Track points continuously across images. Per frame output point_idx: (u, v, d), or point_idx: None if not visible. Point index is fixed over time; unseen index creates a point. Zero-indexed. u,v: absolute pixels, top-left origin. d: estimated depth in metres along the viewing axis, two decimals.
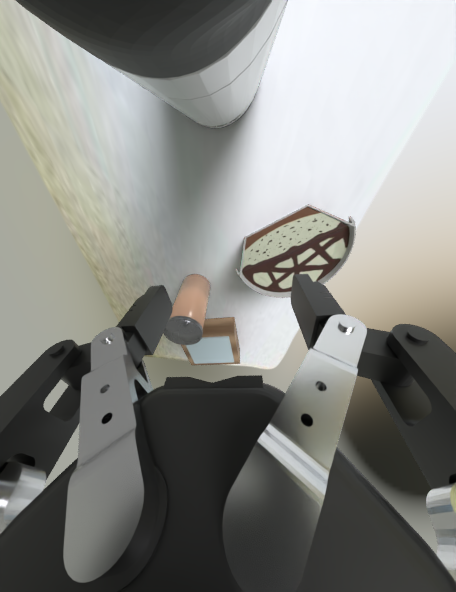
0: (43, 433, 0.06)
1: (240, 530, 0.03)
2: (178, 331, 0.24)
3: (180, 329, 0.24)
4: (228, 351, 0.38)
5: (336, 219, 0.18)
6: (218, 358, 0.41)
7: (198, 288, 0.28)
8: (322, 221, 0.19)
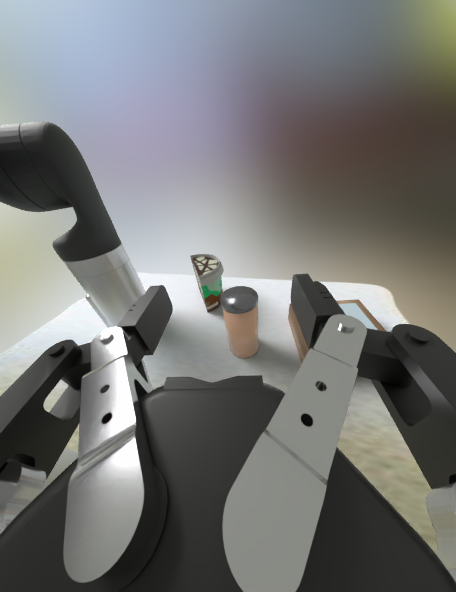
0: (43, 433, 0.06)
1: (240, 530, 0.03)
2: (235, 298, 0.25)
3: (232, 297, 0.25)
4: None
5: (193, 266, 0.44)
6: (355, 317, 0.28)
7: None
8: (195, 271, 0.43)
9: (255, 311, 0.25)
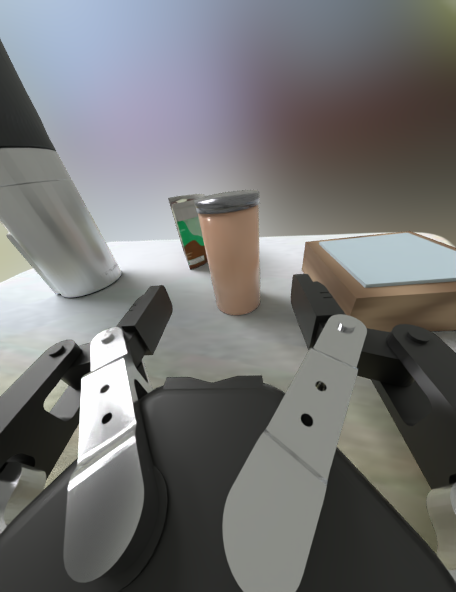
0: (43, 433, 0.06)
1: (240, 530, 0.03)
2: (219, 197, 0.14)
3: (215, 197, 0.15)
4: (367, 239, 0.20)
5: (173, 215, 0.33)
6: (416, 245, 0.17)
7: None
8: (175, 220, 0.33)
9: (255, 219, 0.14)
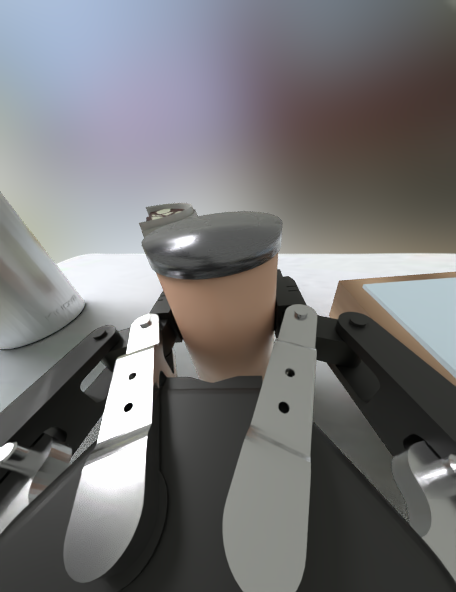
0: (77, 411, 0.06)
1: (242, 540, 0.03)
2: (197, 231, 0.07)
3: (188, 230, 0.07)
4: (444, 284, 0.12)
5: None
6: None
7: None
8: None
9: (272, 278, 0.07)
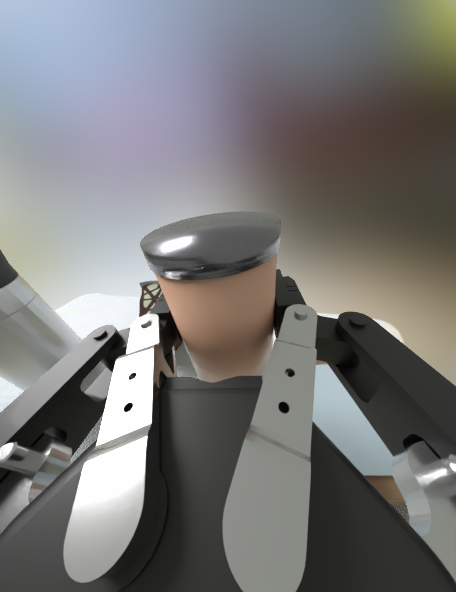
0: (77, 411, 0.06)
1: (242, 540, 0.03)
2: (196, 232, 0.07)
3: (187, 230, 0.07)
4: (316, 370, 0.21)
5: None
6: None
7: None
8: None
9: (271, 279, 0.07)
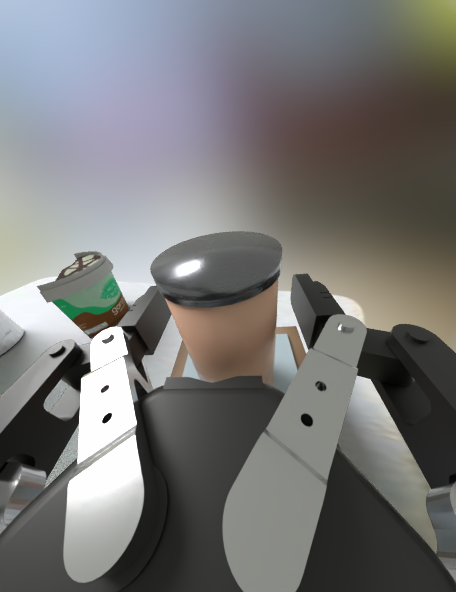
0: (43, 433, 0.06)
1: (240, 530, 0.03)
2: (202, 257, 0.07)
3: (194, 254, 0.08)
4: None
5: None
6: (275, 367, 0.15)
7: None
8: None
9: (273, 300, 0.07)
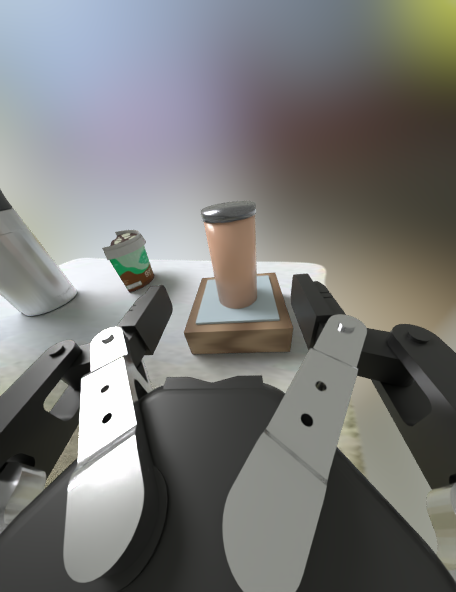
0: (43, 433, 0.06)
1: (240, 529, 0.03)
2: (222, 208, 0.17)
3: (218, 207, 0.17)
4: None
5: None
6: (259, 289, 0.24)
7: None
8: None
9: (252, 227, 0.17)
